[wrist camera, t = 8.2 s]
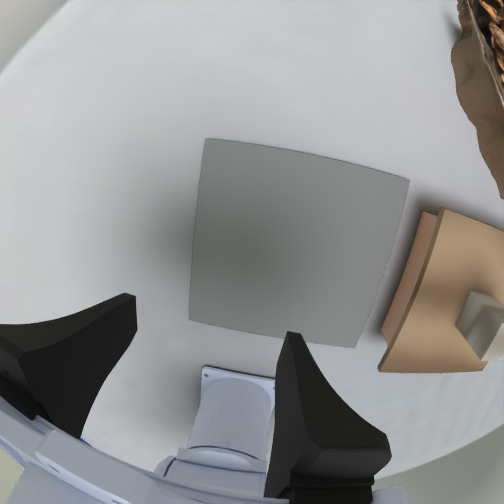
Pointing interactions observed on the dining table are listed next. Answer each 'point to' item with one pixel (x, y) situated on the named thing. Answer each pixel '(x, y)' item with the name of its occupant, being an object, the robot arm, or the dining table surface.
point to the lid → (453, 302)
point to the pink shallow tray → (409, 275)
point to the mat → (290, 242)
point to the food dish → (483, 77)
